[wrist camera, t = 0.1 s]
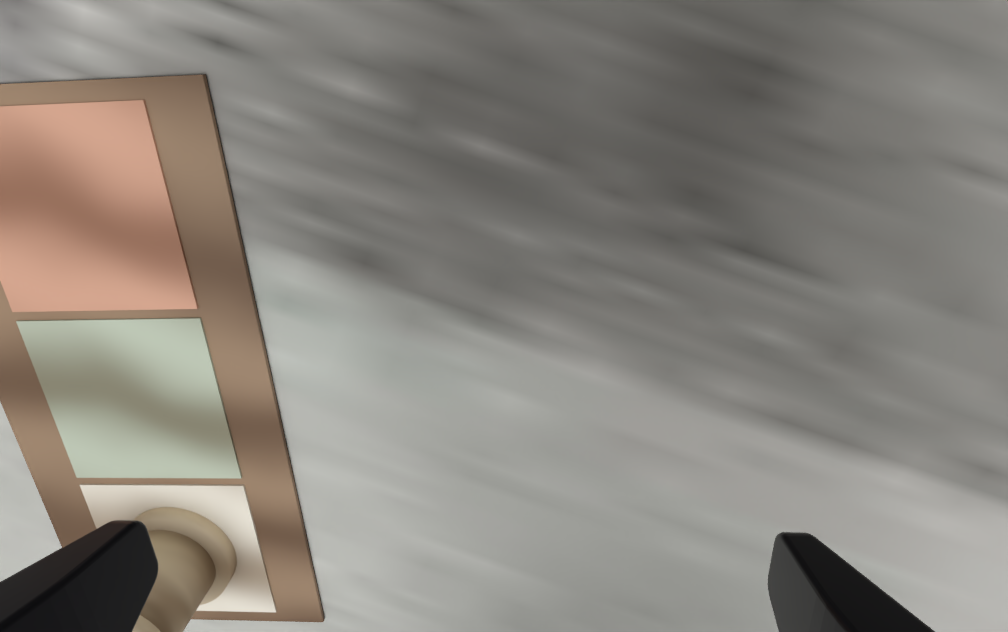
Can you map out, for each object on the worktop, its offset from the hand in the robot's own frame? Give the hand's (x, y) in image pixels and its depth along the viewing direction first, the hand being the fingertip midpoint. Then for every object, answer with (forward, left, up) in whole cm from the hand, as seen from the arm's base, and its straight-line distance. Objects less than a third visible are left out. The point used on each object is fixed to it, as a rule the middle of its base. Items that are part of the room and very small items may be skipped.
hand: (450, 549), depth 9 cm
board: (-6, +16, -15) cm, 22 cm away
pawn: (-14, +16, -14) cm, 26 cm away
